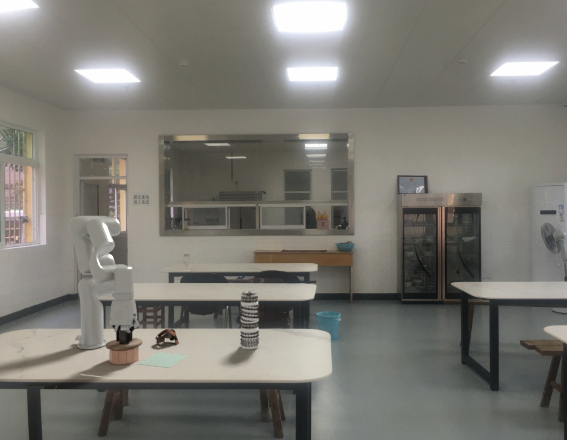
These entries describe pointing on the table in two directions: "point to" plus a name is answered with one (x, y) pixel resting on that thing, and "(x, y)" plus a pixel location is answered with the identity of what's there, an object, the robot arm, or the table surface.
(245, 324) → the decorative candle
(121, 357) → the bowl
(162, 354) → the mat
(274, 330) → the table surface
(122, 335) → the lid
